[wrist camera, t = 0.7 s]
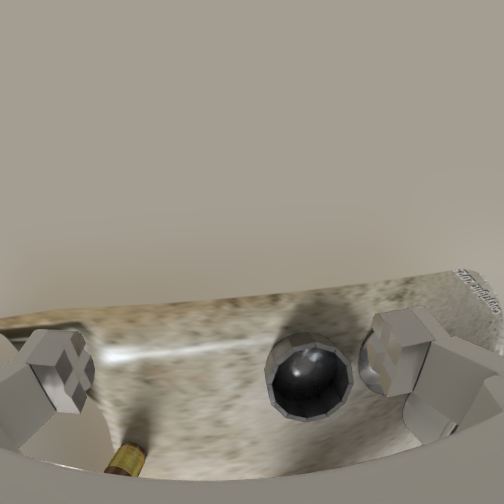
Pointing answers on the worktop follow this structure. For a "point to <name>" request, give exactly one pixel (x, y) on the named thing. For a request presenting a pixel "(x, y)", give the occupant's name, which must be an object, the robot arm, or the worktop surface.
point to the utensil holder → (426, 420)
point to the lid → (368, 370)
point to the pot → (307, 377)
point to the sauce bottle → (127, 461)
